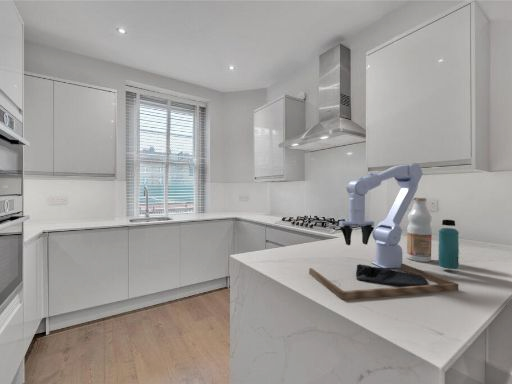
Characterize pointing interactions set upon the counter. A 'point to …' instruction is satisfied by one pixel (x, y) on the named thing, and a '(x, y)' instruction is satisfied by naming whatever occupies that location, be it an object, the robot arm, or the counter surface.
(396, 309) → the counter surface
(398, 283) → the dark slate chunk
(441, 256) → the beverage bottle
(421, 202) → the fruit juice
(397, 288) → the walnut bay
